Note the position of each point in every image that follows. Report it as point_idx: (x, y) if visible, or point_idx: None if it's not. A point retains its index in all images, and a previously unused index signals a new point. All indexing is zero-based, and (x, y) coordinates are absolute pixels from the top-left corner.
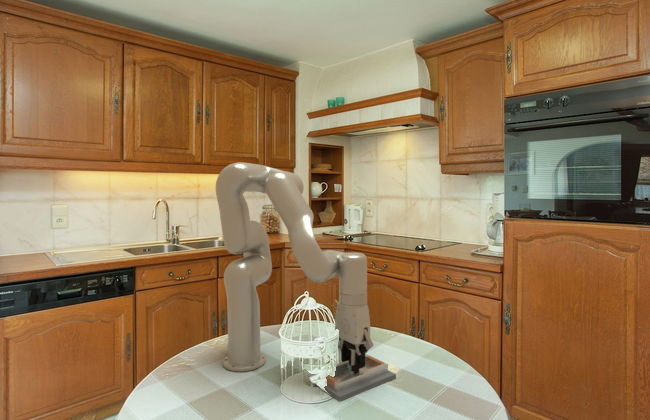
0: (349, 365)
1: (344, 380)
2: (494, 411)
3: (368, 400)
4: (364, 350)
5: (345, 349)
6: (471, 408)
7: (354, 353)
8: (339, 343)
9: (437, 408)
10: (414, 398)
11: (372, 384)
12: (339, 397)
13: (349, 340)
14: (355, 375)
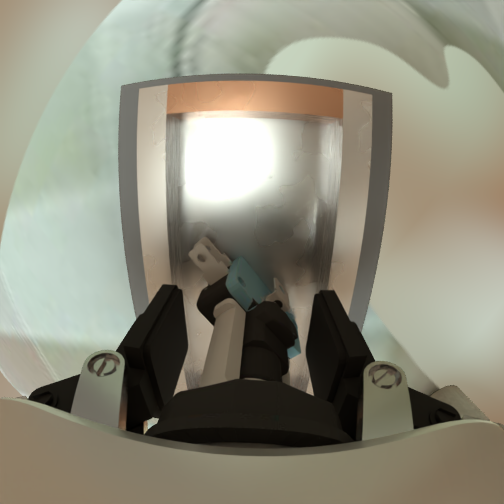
0: (269, 301)
1: (142, 147)
2: (2, 370)
3: (76, 202)
4: (41, 390)
5: (330, 368)
6: (8, 359)
7: (204, 371)
8: (459, 389)
9: (9, 321)
10: (46, 326)
11: (133, 293)
12: (124, 86)
13: (95, 457)
14: (154, 247)
